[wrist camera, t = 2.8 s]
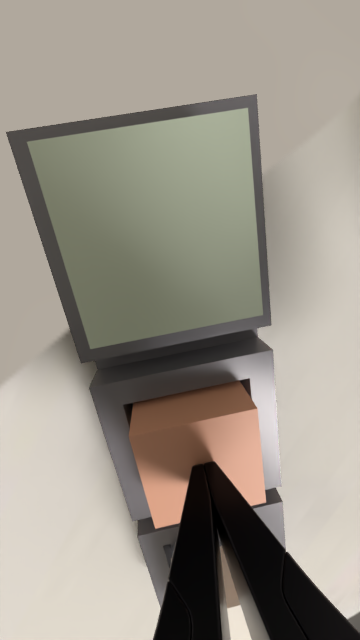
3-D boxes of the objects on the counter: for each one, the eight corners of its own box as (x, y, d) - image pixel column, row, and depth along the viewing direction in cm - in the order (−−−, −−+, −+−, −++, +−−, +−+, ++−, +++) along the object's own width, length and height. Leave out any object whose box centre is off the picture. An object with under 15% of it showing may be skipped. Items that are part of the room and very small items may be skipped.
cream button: (170, 558, 11) (174, 622, 9) (261, 536, 11) (283, 593, 9) (186, 613, 12) (191, 679, 11) (267, 593, 13) (287, 653, 11)
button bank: (39, 159, 8) (6, 132, 6) (234, 128, 9) (256, 94, 7) (164, 576, 15) (165, 623, 13) (271, 549, 15) (288, 591, 13)
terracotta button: (133, 400, 10) (128, 436, 8) (237, 378, 10) (257, 408, 8) (155, 480, 11) (155, 528, 9) (247, 460, 11) (266, 502, 9)
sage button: (64, 173, 7) (27, 142, 5) (221, 148, 7) (248, 107, 5) (106, 325, 8) (90, 349, 6) (237, 299, 8) (263, 314, 6)
